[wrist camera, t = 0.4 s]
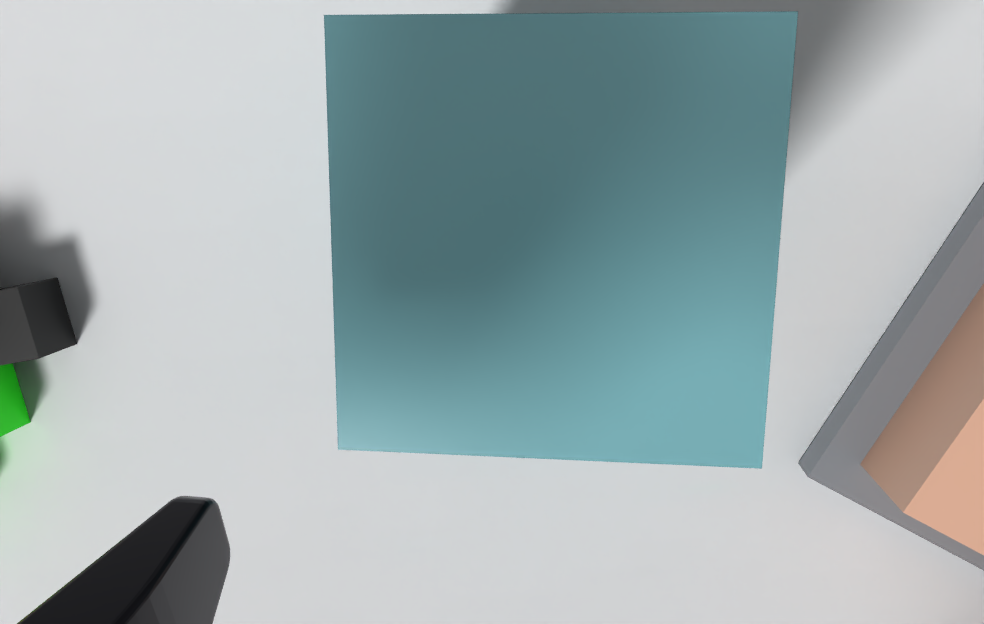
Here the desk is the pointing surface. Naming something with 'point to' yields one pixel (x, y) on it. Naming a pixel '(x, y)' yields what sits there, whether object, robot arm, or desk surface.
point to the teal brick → (557, 232)
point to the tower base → (897, 374)
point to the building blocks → (28, 339)
